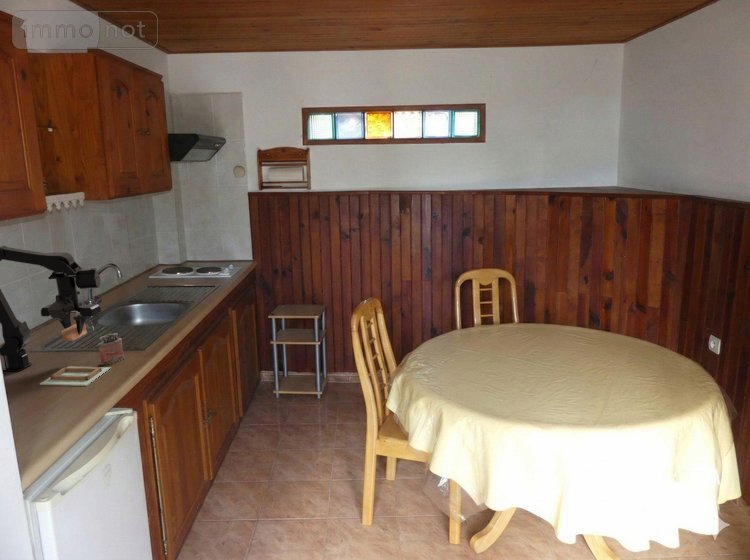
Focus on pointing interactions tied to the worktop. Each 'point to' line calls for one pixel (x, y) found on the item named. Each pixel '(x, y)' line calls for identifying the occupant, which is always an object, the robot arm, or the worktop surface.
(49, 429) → the worktop surface
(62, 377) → the mat
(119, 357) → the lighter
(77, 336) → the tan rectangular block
